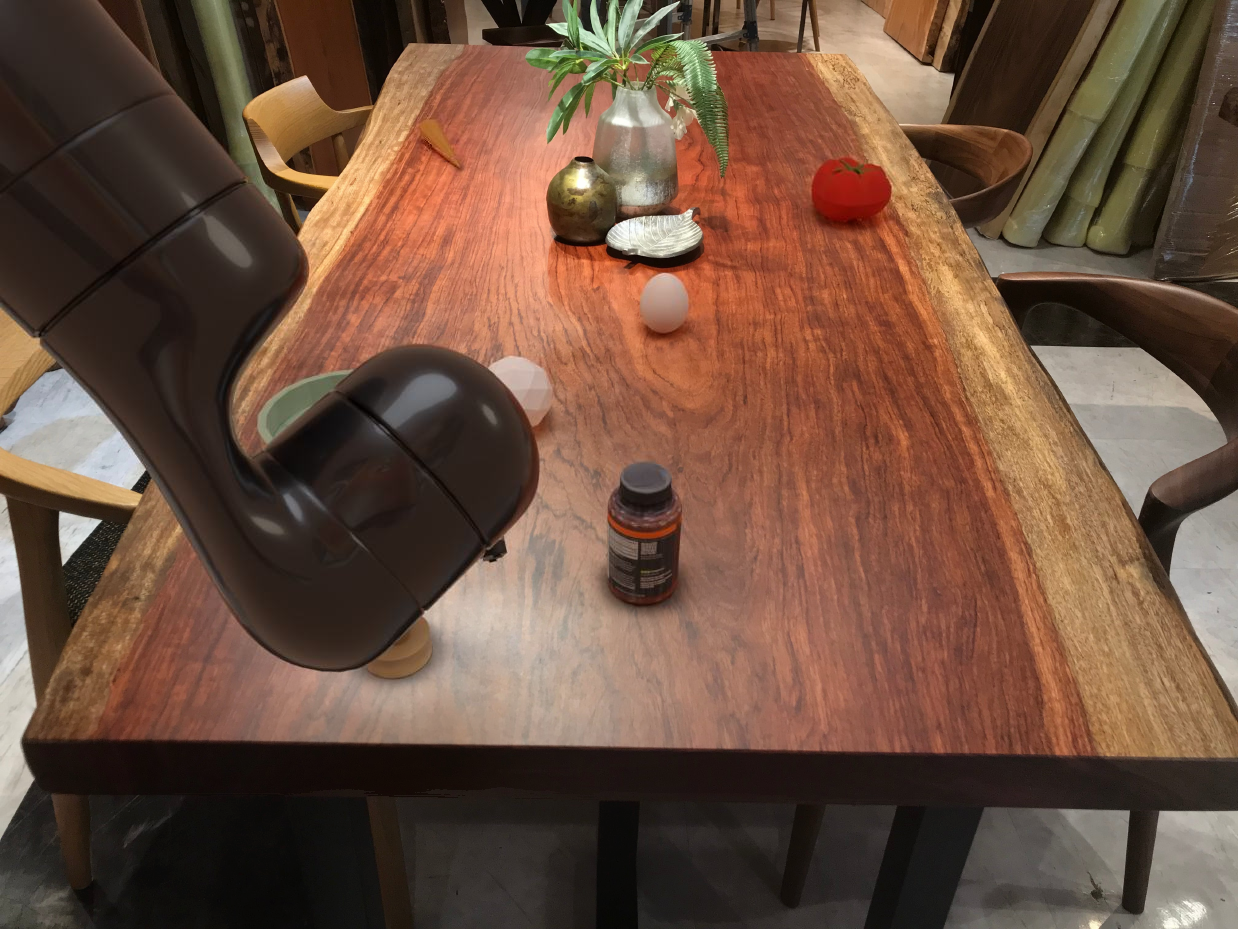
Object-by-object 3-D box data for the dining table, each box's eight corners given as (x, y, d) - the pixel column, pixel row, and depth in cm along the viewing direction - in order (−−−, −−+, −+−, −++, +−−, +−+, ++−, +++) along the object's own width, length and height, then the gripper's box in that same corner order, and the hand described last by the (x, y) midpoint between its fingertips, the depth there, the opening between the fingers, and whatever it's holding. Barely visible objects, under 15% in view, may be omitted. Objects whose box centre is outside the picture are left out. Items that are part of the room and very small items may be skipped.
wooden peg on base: (349, 667, 67) (323, 552, 60) (386, 620, 71) (365, 507, 64) (410, 687, 66) (390, 572, 59) (444, 637, 70) (429, 524, 63)
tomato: (896, 234, 140) (907, 178, 135) (815, 232, 140) (824, 176, 134) (875, 203, 151) (885, 150, 146) (801, 201, 151) (809, 148, 146)
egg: (681, 318, 115) (685, 262, 110) (691, 340, 110) (696, 283, 106) (634, 320, 114) (636, 264, 109) (643, 343, 109) (645, 286, 105)
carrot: (422, 143, 174) (411, 122, 171) (442, 132, 175) (432, 111, 171) (455, 185, 161) (444, 163, 158) (476, 173, 162) (466, 151, 158)
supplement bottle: (648, 549, 79) (654, 444, 72) (691, 588, 75) (701, 481, 68) (592, 576, 76) (593, 469, 69) (634, 618, 72) (639, 509, 65)
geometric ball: (508, 456, 94) (464, 421, 88) (500, 396, 98) (458, 359, 92) (571, 428, 92) (530, 391, 86) (560, 368, 96) (521, 328, 90)
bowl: (235, 489, 84) (220, 436, 81) (332, 406, 96) (322, 357, 93) (379, 528, 80) (370, 474, 77) (461, 436, 92) (457, 386, 89)
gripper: (509, 447, 46) (478, 492, 61) (212, 499, 42) (260, 533, 57) (539, 591, 45) (500, 600, 61) (239, 657, 41) (279, 649, 57)
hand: (383, 567), depth 59 cm, fingers open, 8 cm apart
